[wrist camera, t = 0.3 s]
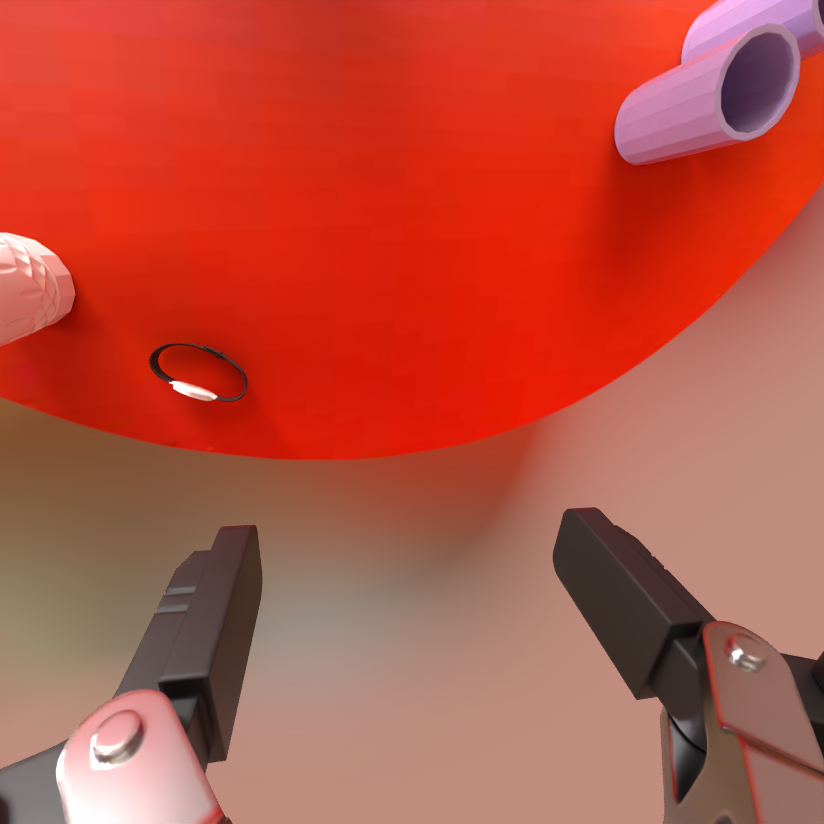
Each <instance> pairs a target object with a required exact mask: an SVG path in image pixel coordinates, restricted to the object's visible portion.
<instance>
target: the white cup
mask: <svg viewBox="0 0 824 824" xmlns="http://www.w3.org/2000/svg"><path fill="white" fill-rule="evenodd" d="M75 295H76V293H75V289H74V285H73V281H72V277H71V274H70V272H69V271H68V270H67V268H66V267H65V266H64V264H63V263H62V262H61V260H60V259H59V257H58V256H57V255H56V254H55V253H53V252H52V251H50V250H49V249H47V248H46V247H44V246H43V245H41V244H40V243H38V242H37V241H36V240H33V239H29V238H25V237H22V236H18V235H14V234H11V233H0V346H3V345H6V344H8V343H11V342H13V341H16V340H18V339H20V338H22V337H24V336H27V335H30V334H32V333H34V332H36V331H38V330H40V329H41V328H43V327H46V326H49V325H51V324H54V323H56V322H58V321H59V320H60V319H61V318H63V317H64V316H65V315H66V314H68V313H69V312H70V311H71V308H72V305H73V301H74V298H75Z"/></svg>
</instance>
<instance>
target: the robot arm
mask: <svg viewBox="0 0 824 824" xmlns="http://www.w3.org/2000/svg"><path fill="white" fill-rule="evenodd" d="M553 563H554V568H555V571H556V574H557V576H558V577H559V579H560V580H561V582H562V584H563V585H564V587H565V588H566V590H567V591H568V593H569V595H570V596H571V598H572V599H573V601H574V602H575V604H576V606H577V607H578V609H579V610H580V612H581V613H582V615H583V617H584V618H585V620H586V621H587V623H588V624H589V626H590V627H591V629H592V631H593V632H594V634H595V635H596V637H597V639H598V640H599V642H600V643H601V645H602V646H603V648H604V649H605V651H606V652H607V654H608V656H609V657H610V659H611V661H612V662H613V663H614V665H615V667H616V668H617V670H618V671H619V673H620V675H621V676H622V678H623V679H624V681H625V683H626V684H627V686H628V687H629V689H630V690H631V692H632V693H633V695H634V697H635V698H636V699H637V700H640V699H646V698H653V697H658V698H659V700H660V701H661V703H662V704H663V705H664V706H663V708H662V711H661V714H660V728H661V747H662V766H663V785H664V806H665V810H664V811H665V812H664V813H665V814H664V822H663V824H824V652H823V653H822V654H821V656H820V657H819V658H818V660H813V659H808V658H803V657H798V656H792V655H787V654H782V653H779V652H778V651H777V650H776V649H775V648H774V647H773V646H772V645H770V644H769V643H768V642H767V641H765V640H764V639H763V638H761V637H760V636H758V635H757V634H755V633H753V632H752V631H750V630H748V629H746V628H744V627H741V626H739V625H736V624H733V623H730V622H725V621H717V620H716V619H715V618H714V617H713V616H712V615H711V614H710V613H709V612H708V611H707V610H706V609H705V608H704V607H703V606H702V605H701V604H700V603H699V602H698V601H697V600H696V599H695V598H694V597H693V596H692V595H691V594H690V593H689V592H688V591H687V590H686V589H685V588H684V586H682V584H681V583H680V582H679V581H678V580H677V579H676V578H675V577H674V576H673V575H672V574H671V573H670V572H669V571H668V570H665V569H664V566H663V565H662V564H661V563H660V562H659V561H658V560H657V559H656V558H655V557H652V556H651V553H650V552H649V551H648V550H647V549H646V548H645V547H644V545H643V544H642V543H641V542H640V541H639V540H638V539H637V538H635V537H634V536H632V535H631V534H629V533H628V532H626V531H625V530H623V529H622V528H620V527H619V526H617V525H613V524H612V523H611V521H610V520H609V519H608V518H607V517H606V516H605V515H604V514H603V513H602V512H601V511H600V510H599V509H597V508H595V507H594V508H593V507H592V508H574V509H567V510H566V511H565V512H564V514H563V518H562V521H561V525H560V529H559V532H558V536H557V540H556V544H555V547H554V551H553ZM261 593H262V568H261V559H260V550H259V541H258V533H257V528H256V526H255V525H243V526H224V527H221V528H220V529H219V531H218V534H217V536H216V539H215V541H214V544H213V546H212V549H211V550H207V551H194V552H193V553H192V554H191V555H190V556H189V557H188V558H187V559H186V560H185V561H184V562H183V563H182V564H181V565H180V566H179V567H178V568H177V569H176V571H175V573H174V575H173V577H172V579H171V581H170V583H169V585H168V587H167V589H166V594H165V595H163V597H162V599H161V601H160V604H159V605H158V608H157V613H155V614H154V616H153V618H152V620H151V622H150V624H149V626H148V628H147V630H146V632H145V634H144V637H143V638H142V641H141V643H140V645H139V647H138V649H137V651H136V653H135V655H134V657H133V659H132V661H131V663H130V666H129V667H128V669H127V671H126V673H125V676H124V678H123V680H122V682H121V684H120V686H119V688H118V690H117V691H116V693H115V695H114V696H113V698H112V699H111V700H109V701H107V702H106V703H104V704H103V705H101V706H100V707H98V708H97V709H96V710H94V711H93V712H92V713H91V714H90V715H88V717H86V718H85V719H84V720H83V721H82V722H81V723H80V725H79V726H78V727H77V728H76V730H75V731H74V732H73V733H72V735H71V736H70V738H68V739H66V740H65V741H63V742H61V743H60V744H58V745H56V746H53V747H51V748H49V749H47V750H45V751H42V752H40V753H38V754H35V755H33V756H31V757H28V758H26V759H24V760H21V761H19V762H16V763H14V764H12V765H9V766H7V767H4V768H2V769H0V824H232V822H231V821H230V819H229V818H228V817H226V816H225V815H224V813H223V811H222V810H221V808H220V806H219V804H218V801H217V799H216V797H215V795H214V793H213V791H212V789H211V786H210V784H209V782H208V780H207V778H206V776H205V772H206V769H207V764H208V763H212V762H219V761H225V760H226V758H227V754H228V749H229V745H230V740H231V735H232V730H233V726H234V721H235V717H236V712H237V707H238V702H239V697H240V693H241V689H242V684H243V679H244V674H245V670H246V665H247V661H248V656H249V651H250V646H251V642H252V637H253V632H254V628H255V623H256V619H257V614H258V610H259V605H260V600H261Z"/></svg>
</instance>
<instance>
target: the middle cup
mask: <svg viewBox="0 0 824 824" xmlns="http://www.w3.org/2000/svg"><path fill="white" fill-rule="evenodd" d="M766 23H773V24H778V25H783V26H785V27H786V28H787V29H788V30H789V31H790V32H791V33H792V34H793V35H794V36H795V38H796V40H797V44H798V48H799V52H800V56H801V60H803V59H806V58H808V57H811V56H814V55H816V54H819V53H822V52H824V0H719V1H717V2H716V3H714V4H713V5H712V6H711V7H709V8H707V9H706V10H705V11H703V12H702V13H701V14H700V15H699V16H698V17H697V19H696V20H695V21H694V23H693V24H692V26H691V27H690V29H689V31H688V33H687V36H686V38H685V41H684V44H683V49H682V55H681V64H683V63H685V62H687V61H689V60H691V59H693V58H695V57H697V56H699V55H701V54H703V53H705V52H707V51H709V50H711V49H713V48H715V47H717V46H719V45H721V44H723V43H725V42H727V41H729V40H731V39H733V38H735V37H737V36H739V35H741V34H743V33H745V32H747V31H749V30H751V29H753V28H756V27H758V26H761V25H764V24H766Z"/></svg>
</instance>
